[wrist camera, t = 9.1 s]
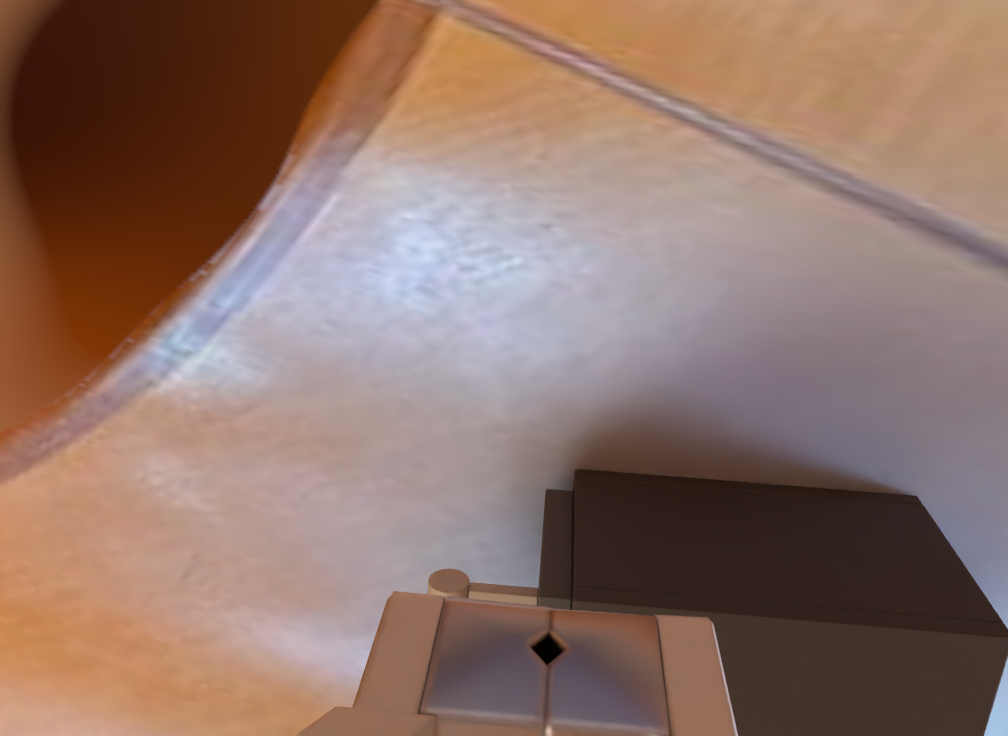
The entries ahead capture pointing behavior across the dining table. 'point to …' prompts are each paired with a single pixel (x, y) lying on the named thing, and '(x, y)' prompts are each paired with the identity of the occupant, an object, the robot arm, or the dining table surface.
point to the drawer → (552, 567)
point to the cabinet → (800, 599)
